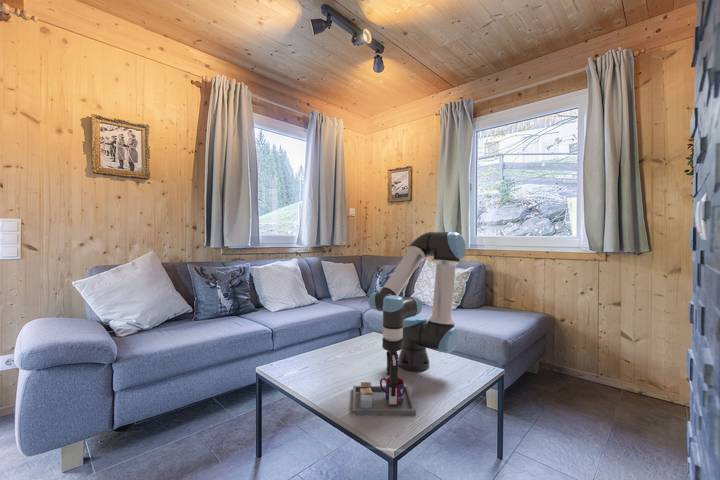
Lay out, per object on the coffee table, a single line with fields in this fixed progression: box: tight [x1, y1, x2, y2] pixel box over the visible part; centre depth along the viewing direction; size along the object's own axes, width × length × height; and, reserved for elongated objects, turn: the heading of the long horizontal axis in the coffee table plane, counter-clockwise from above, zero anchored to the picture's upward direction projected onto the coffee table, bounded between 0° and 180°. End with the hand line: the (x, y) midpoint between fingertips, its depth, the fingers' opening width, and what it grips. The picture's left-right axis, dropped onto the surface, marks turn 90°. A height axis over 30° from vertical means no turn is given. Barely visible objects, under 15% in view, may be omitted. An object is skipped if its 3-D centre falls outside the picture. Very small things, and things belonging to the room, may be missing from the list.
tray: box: [352, 385, 417, 416], centre depth 123 cm, size 22×18×2 cm
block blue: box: [361, 395, 373, 409], centre depth 118 cm, size 4×4×4 cm
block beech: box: [360, 388, 373, 400], centre depth 123 cm, size 4×4×4 cm
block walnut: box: [360, 381, 372, 389], centre depth 128 cm, size 4×4×4 cm
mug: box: [379, 377, 405, 403], centre depth 124 cm, size 7×10×7 cm
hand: (391, 397), depth 123 cm, fingers closed on mug, 7 cm apart
